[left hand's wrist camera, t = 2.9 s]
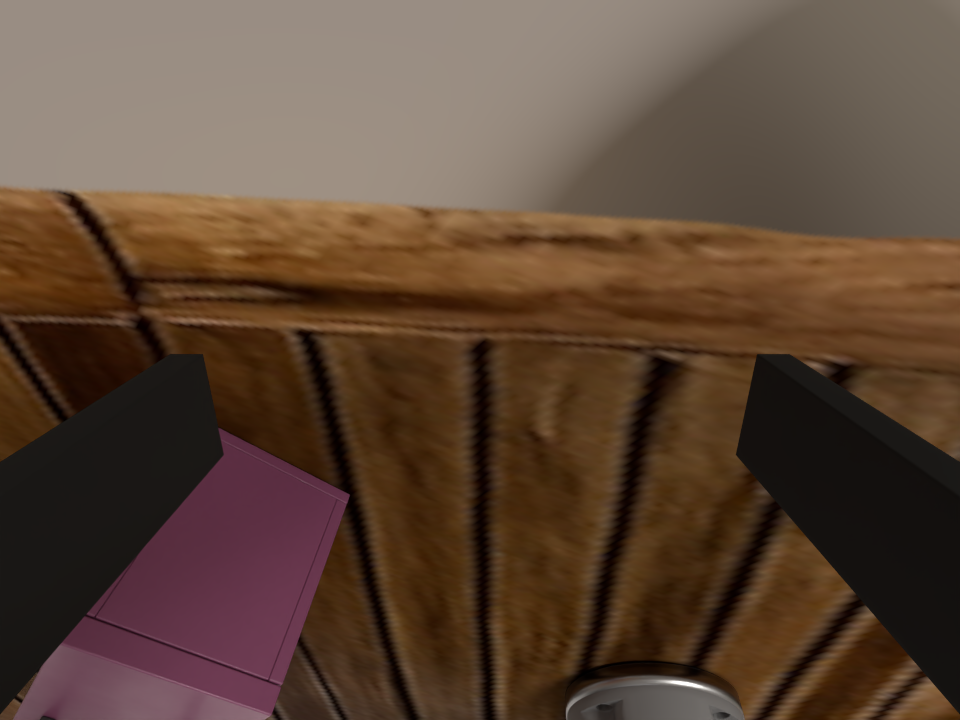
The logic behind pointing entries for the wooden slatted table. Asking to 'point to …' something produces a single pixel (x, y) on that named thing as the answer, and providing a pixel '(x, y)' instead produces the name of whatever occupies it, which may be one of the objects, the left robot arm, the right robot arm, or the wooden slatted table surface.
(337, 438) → the wooden slatted table surface
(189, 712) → the lid
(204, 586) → the chest
